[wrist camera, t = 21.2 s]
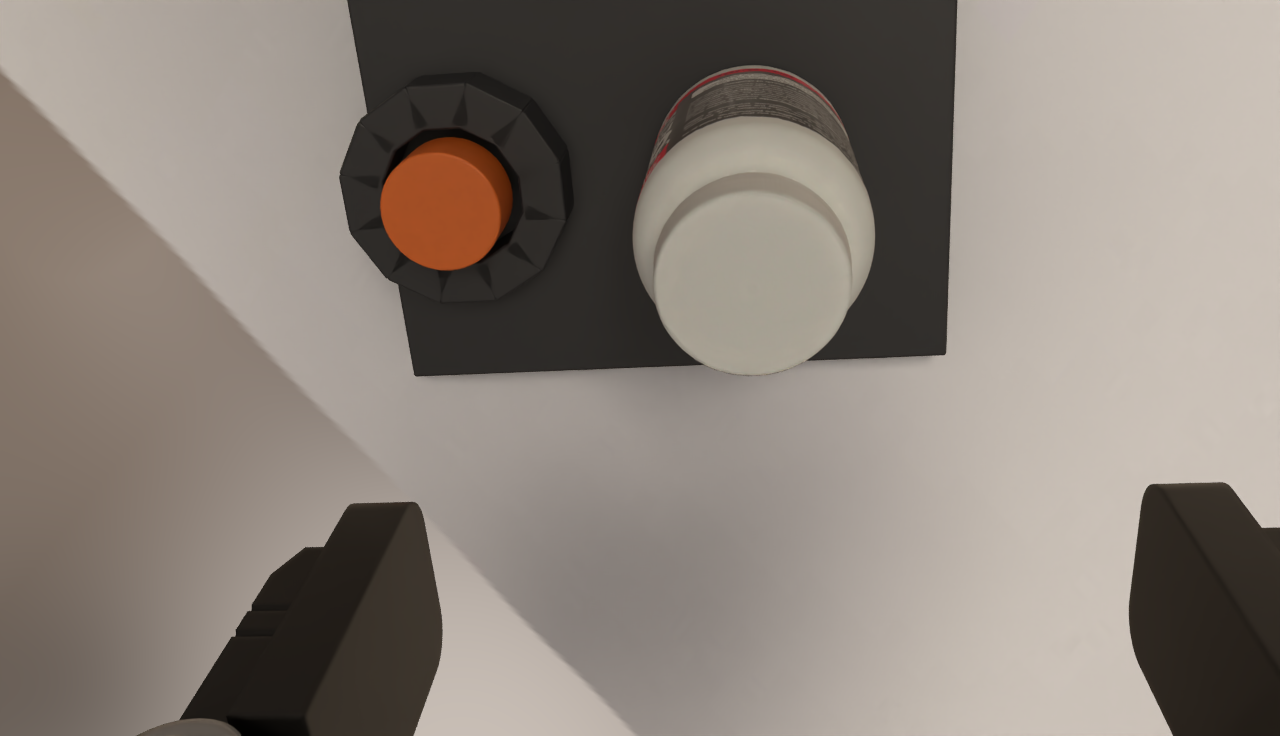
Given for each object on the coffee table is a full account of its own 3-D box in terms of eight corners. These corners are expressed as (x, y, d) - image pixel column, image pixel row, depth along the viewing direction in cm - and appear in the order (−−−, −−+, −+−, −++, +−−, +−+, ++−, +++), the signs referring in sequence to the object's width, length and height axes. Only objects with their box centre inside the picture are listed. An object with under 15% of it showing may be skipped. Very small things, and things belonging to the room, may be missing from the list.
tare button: (408, 253, 32) (390, 274, 30) (388, 140, 31) (369, 156, 29) (520, 247, 32) (508, 268, 30) (505, 132, 30) (492, 148, 29)
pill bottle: (631, 88, 31) (587, 188, 22) (829, 39, 30) (866, 123, 21) (679, 273, 33) (656, 431, 24) (865, 232, 32) (912, 382, 23)
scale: (408, 359, 36) (381, 401, 34) (336, -38, 31) (298, -27, 29) (938, 337, 35) (955, 379, 32) (951, -88, 30) (972, -81, 27)
